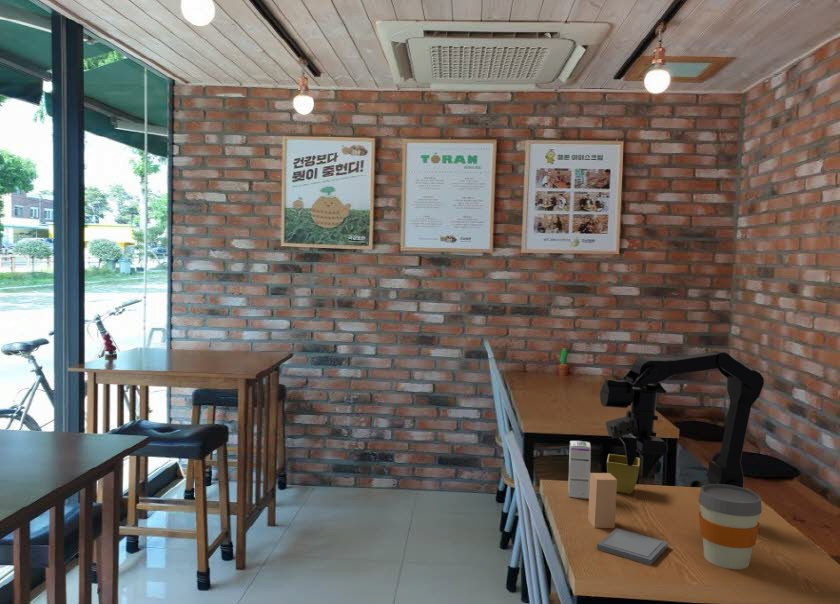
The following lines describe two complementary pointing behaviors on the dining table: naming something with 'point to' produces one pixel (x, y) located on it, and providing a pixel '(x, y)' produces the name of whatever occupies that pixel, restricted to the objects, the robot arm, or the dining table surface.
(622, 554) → the plate
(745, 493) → the reusable coffee cup
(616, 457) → the flower pot
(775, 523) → the dining table surface
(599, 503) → the block
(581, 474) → the syrup box
